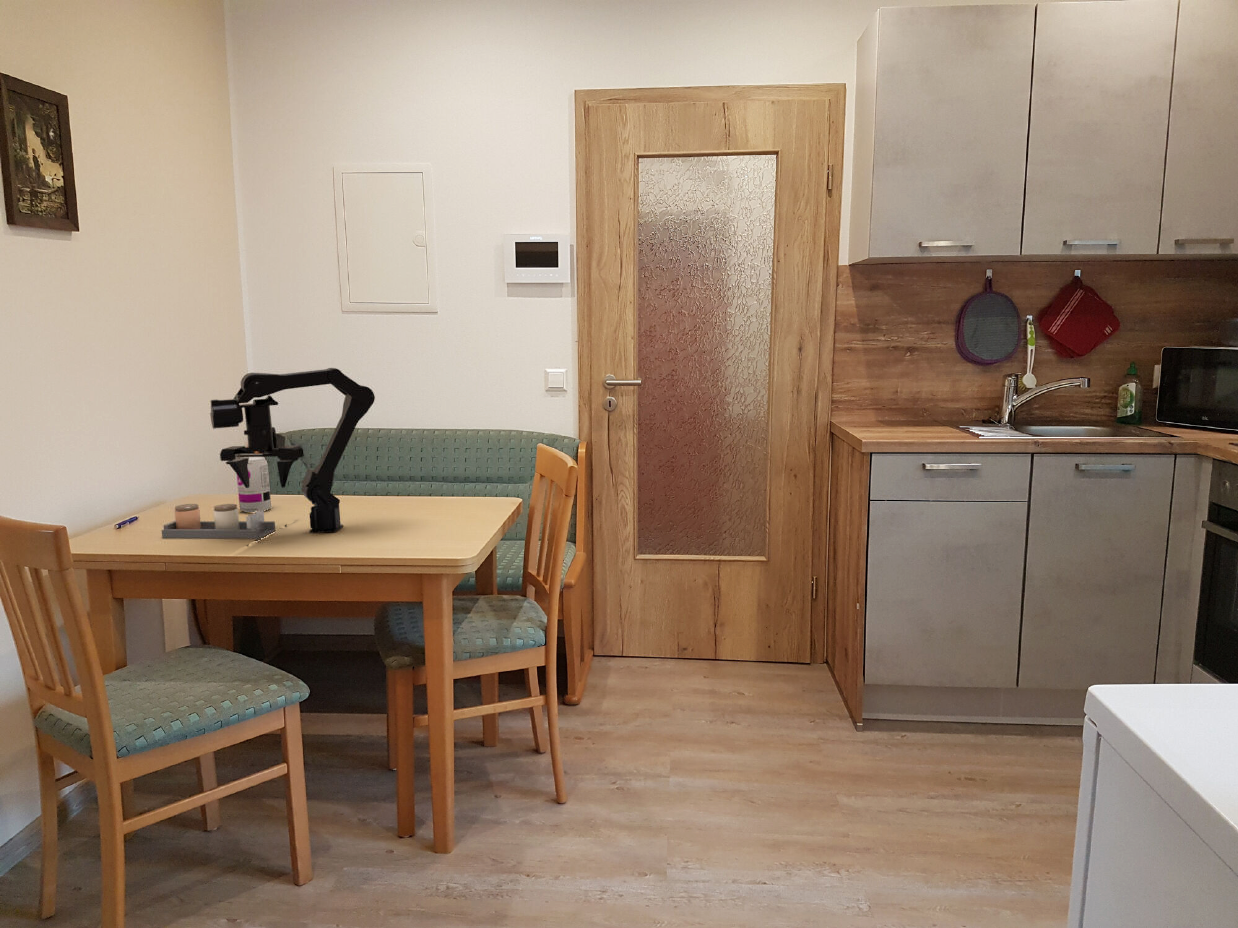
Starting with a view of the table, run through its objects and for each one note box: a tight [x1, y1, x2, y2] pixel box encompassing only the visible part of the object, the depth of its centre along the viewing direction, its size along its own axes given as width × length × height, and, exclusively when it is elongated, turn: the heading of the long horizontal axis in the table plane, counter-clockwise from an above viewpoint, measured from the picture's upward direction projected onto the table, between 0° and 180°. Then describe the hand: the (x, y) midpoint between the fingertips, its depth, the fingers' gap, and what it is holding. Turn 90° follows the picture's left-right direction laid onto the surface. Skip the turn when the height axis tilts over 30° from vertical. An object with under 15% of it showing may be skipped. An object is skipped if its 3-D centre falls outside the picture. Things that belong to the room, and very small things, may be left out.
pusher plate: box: [245, 510, 265, 532], centre depth 210 cm, size 1×7×5 cm, turn 176°
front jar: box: [174, 503, 202, 529], centre depth 211 cm, size 6×6×7 cm
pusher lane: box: [161, 520, 276, 541], centre depth 211 cm, size 24×10×4 cm, turn 86°
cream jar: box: [213, 503, 240, 530], centre depth 211 cm, size 6×6×7 cm
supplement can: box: [236, 457, 272, 513], centre depth 240 cm, size 8×8×15 cm
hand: (265, 487), depth 209 cm, fingers open, 9 cm apart
